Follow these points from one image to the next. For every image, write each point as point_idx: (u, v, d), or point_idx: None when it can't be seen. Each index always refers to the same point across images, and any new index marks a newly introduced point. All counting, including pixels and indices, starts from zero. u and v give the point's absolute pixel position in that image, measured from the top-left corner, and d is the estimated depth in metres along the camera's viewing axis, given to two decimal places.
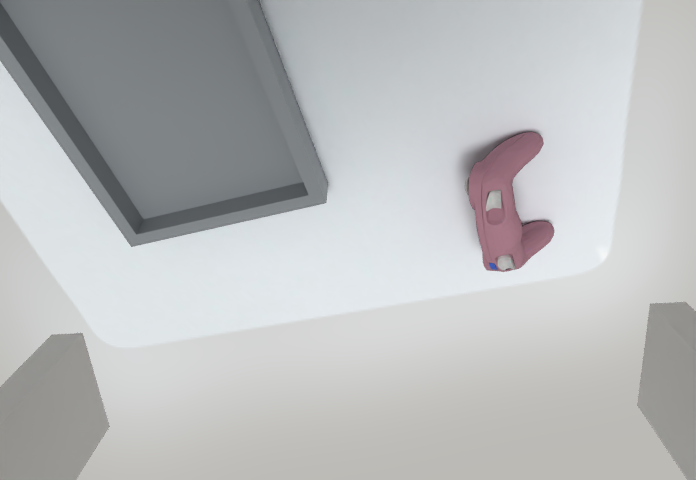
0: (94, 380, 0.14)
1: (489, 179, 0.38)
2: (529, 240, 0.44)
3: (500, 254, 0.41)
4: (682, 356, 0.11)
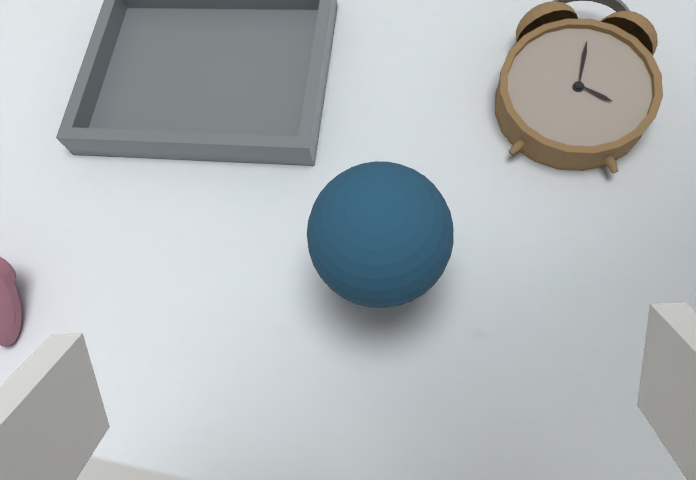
0: (94, 380, 0.14)
1: None
2: None
3: None
4: (682, 356, 0.11)
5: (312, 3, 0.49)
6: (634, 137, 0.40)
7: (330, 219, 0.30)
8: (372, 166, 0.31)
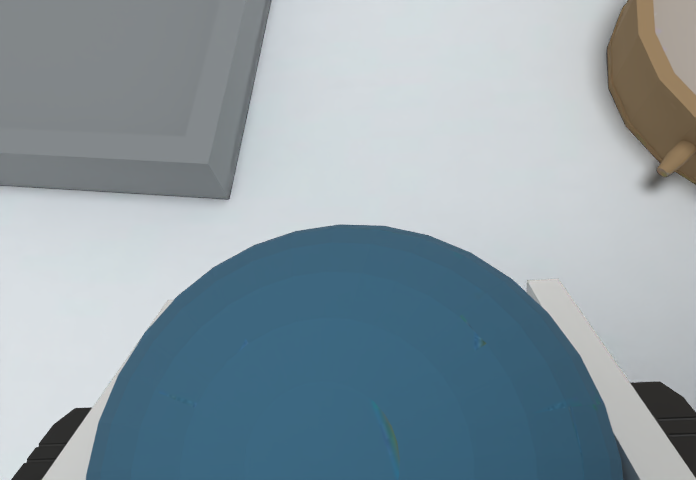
0: None
1: None
2: None
3: None
4: None
5: None
6: None
7: None
8: (318, 255, 0.08)
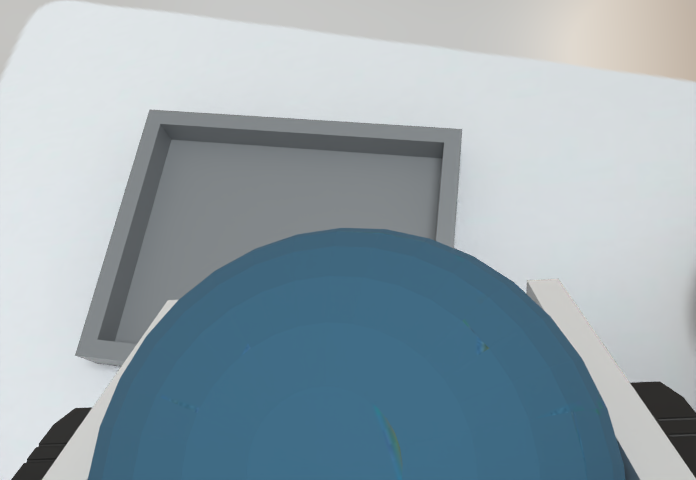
0: None
1: None
2: None
3: None
4: None
5: (428, 151, 0.36)
6: None
7: None
8: (321, 259, 0.08)
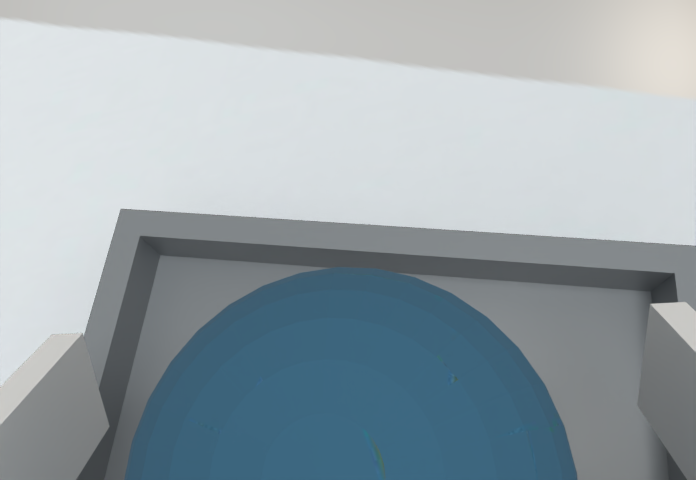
0: (94, 380, 0.14)
1: None
2: None
3: None
4: (681, 356, 0.11)
5: (631, 282, 0.20)
6: None
7: None
8: (320, 302, 0.09)
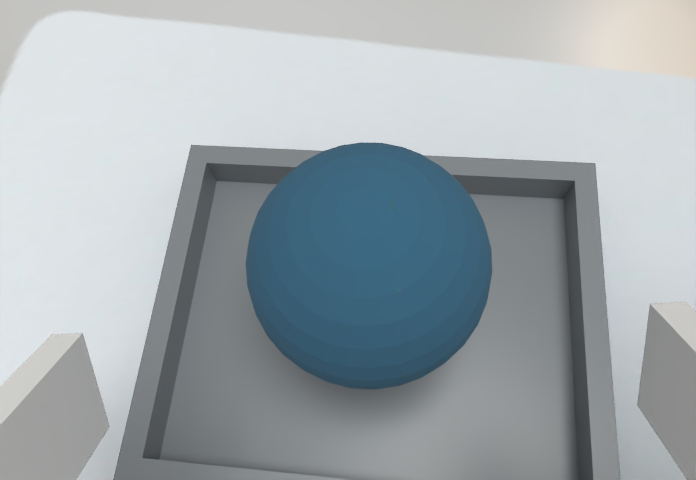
0: (94, 380, 0.14)
1: None
2: None
3: None
4: (682, 356, 0.11)
5: (549, 191, 0.28)
6: None
7: (282, 241, 0.17)
8: (356, 149, 0.18)
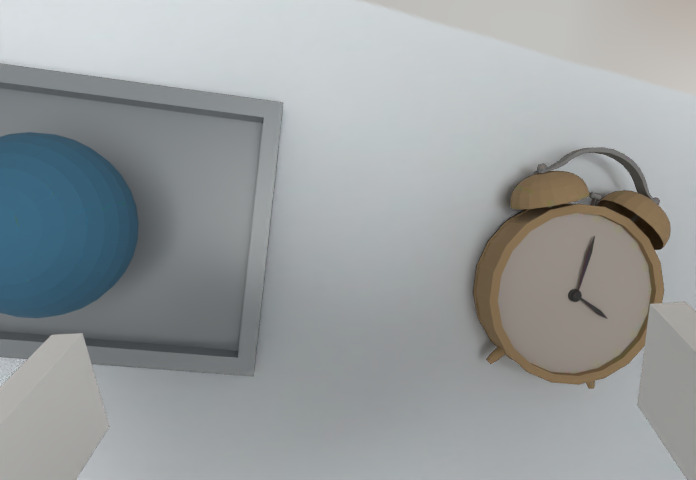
0: (94, 380, 0.14)
1: None
2: None
3: None
4: (682, 356, 0.11)
5: (249, 119, 0.34)
6: (621, 366, 0.36)
7: None
8: (0, 159, 0.23)
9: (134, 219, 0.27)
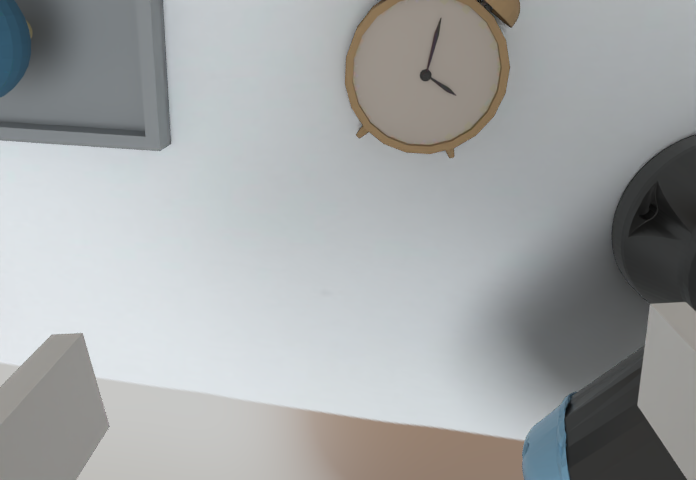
0: (94, 380, 0.14)
1: None
2: None
3: None
4: (682, 356, 0.11)
5: None
6: (469, 138, 0.41)
7: None
8: None
9: (16, 26, 0.34)
